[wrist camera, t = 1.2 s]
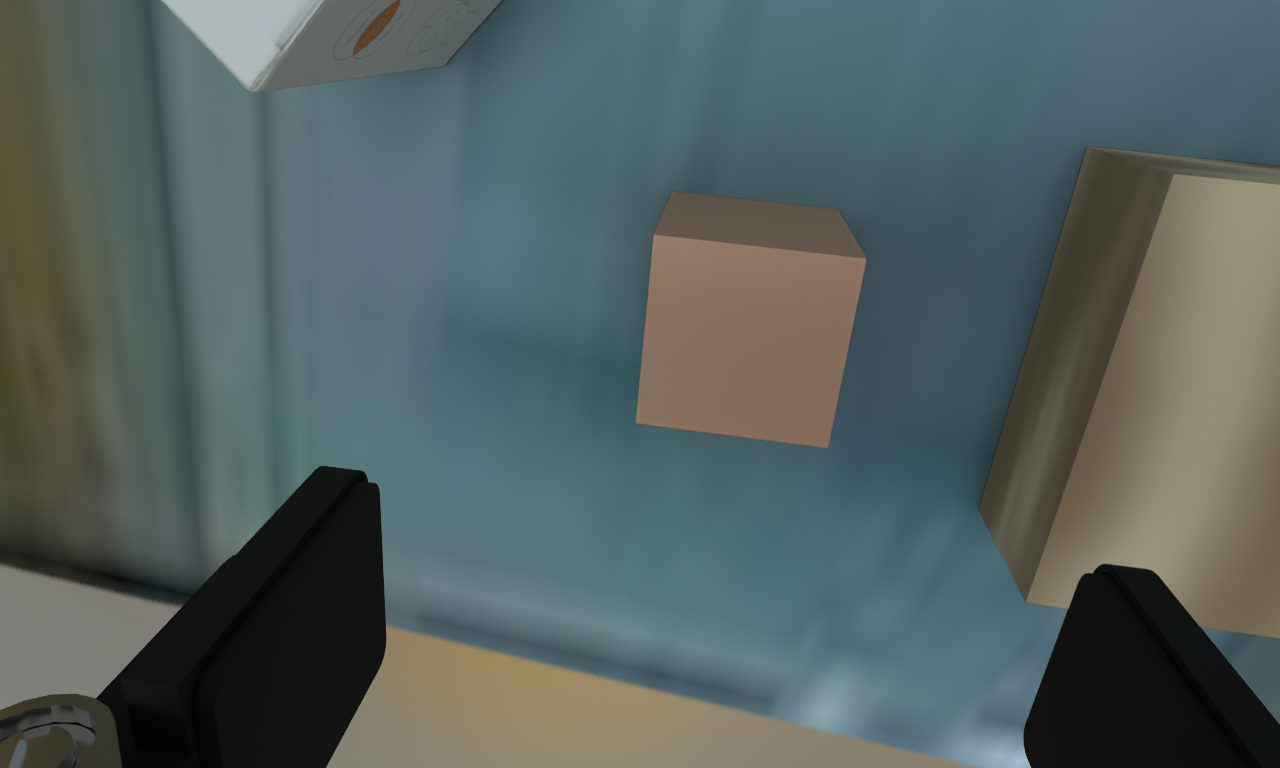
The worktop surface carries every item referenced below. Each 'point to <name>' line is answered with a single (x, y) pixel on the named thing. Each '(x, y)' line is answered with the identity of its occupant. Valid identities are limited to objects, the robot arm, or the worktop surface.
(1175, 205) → the maple base block
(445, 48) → the small box
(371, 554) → the robot arm
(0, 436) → the worktop surface
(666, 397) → the terracotta block
